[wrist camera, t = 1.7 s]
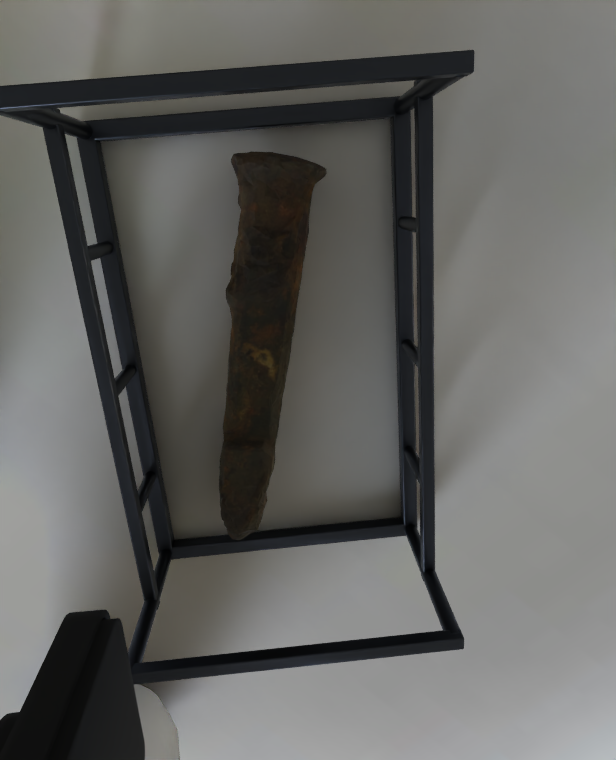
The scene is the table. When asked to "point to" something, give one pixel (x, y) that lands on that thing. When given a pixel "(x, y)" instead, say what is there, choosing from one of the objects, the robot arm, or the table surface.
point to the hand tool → (261, 324)
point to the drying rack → (42, 110)
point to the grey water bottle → (156, 726)
